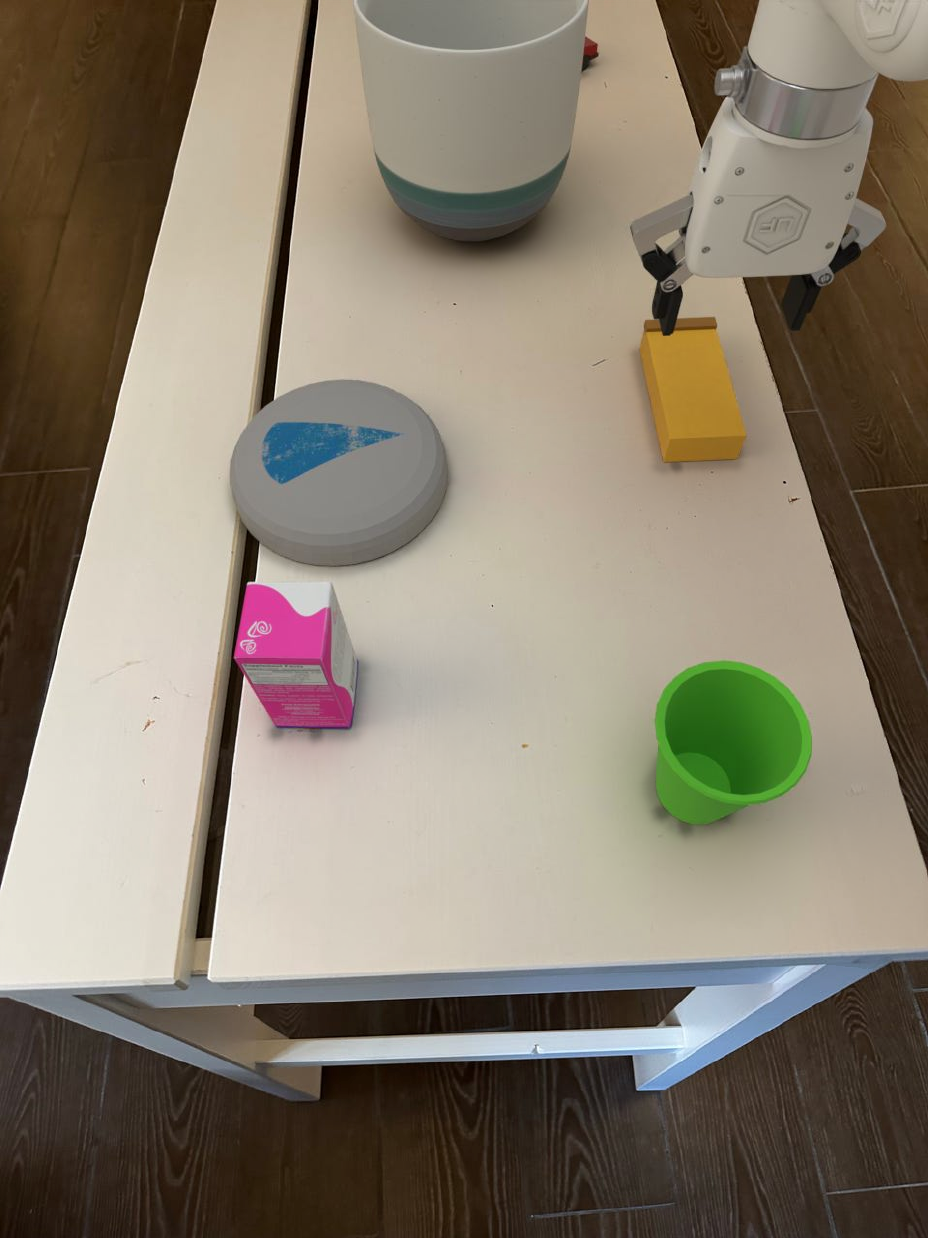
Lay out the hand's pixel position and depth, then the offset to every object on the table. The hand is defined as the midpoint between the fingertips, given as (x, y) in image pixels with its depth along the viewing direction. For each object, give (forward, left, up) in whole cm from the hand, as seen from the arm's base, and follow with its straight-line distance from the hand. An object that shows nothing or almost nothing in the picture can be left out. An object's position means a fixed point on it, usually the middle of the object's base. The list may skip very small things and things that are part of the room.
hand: (726, 320), depth 64 cm
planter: (+32, -17, -13) cm, 39 cm away
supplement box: (+14, +38, -13) cm, 42 cm away
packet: (+2, -3, -12) cm, 13 cm away
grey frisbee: (+24, +20, -13) cm, 34 cm away
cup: (-13, +31, -13) cm, 36 cm away
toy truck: (+38, -47, -13) cm, 62 cm away
